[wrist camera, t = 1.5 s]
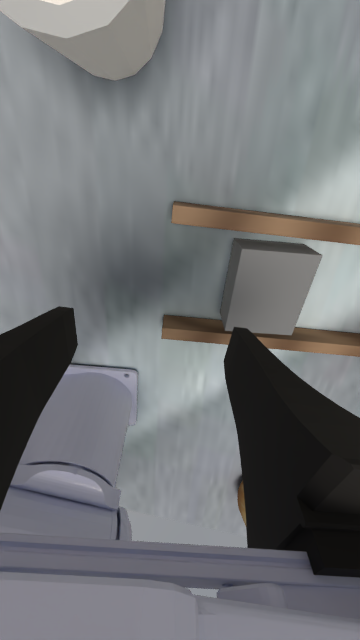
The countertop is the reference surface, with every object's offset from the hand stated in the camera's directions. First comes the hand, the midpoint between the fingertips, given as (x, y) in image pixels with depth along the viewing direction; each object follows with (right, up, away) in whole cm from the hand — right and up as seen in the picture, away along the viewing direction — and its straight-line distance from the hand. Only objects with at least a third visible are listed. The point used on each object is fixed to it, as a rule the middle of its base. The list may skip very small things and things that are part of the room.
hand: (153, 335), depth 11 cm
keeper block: (+7, +4, +8) cm, 11 cm away
